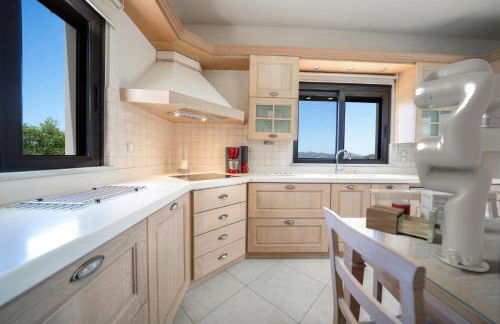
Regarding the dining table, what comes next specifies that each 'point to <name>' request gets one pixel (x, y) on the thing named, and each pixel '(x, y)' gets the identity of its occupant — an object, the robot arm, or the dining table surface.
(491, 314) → the dining table surface
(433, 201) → the supplement box
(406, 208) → the canned food
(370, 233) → the dining table surface
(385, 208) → the cabinet
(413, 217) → the drawer
